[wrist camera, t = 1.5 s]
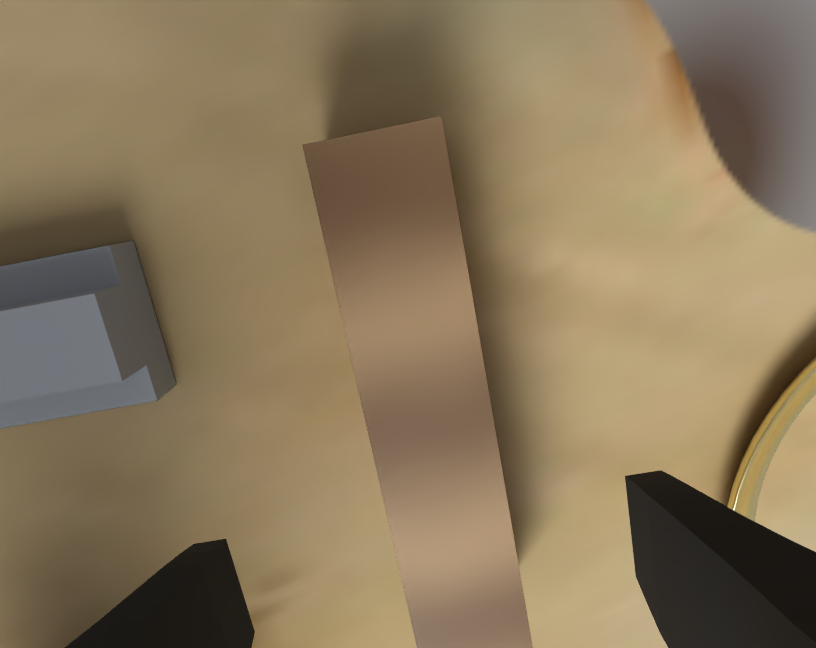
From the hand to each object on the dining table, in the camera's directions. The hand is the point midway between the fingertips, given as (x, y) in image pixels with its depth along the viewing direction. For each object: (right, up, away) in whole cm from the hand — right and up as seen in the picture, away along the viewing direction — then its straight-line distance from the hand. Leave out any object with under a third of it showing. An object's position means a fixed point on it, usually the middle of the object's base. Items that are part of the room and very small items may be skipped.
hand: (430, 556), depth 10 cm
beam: (0, +2, +10) cm, 10 cm away
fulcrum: (-13, +4, +9) cm, 17 cm away
